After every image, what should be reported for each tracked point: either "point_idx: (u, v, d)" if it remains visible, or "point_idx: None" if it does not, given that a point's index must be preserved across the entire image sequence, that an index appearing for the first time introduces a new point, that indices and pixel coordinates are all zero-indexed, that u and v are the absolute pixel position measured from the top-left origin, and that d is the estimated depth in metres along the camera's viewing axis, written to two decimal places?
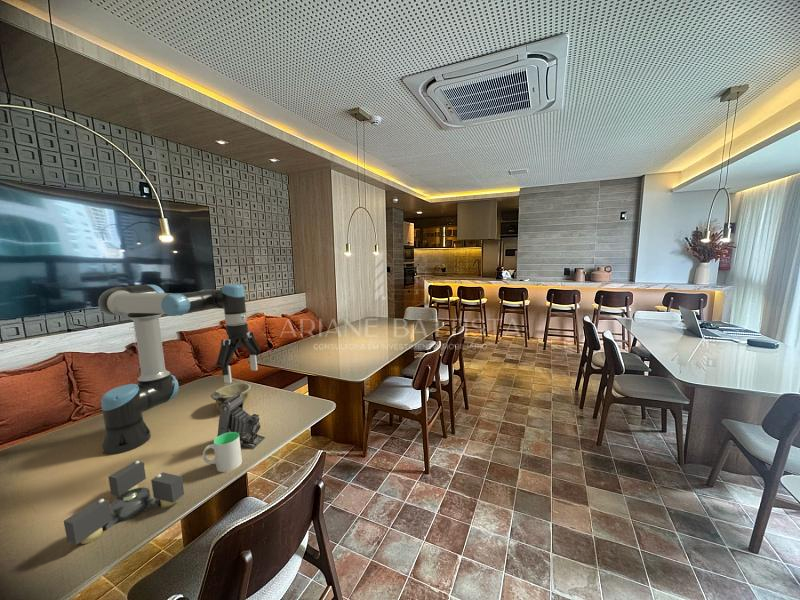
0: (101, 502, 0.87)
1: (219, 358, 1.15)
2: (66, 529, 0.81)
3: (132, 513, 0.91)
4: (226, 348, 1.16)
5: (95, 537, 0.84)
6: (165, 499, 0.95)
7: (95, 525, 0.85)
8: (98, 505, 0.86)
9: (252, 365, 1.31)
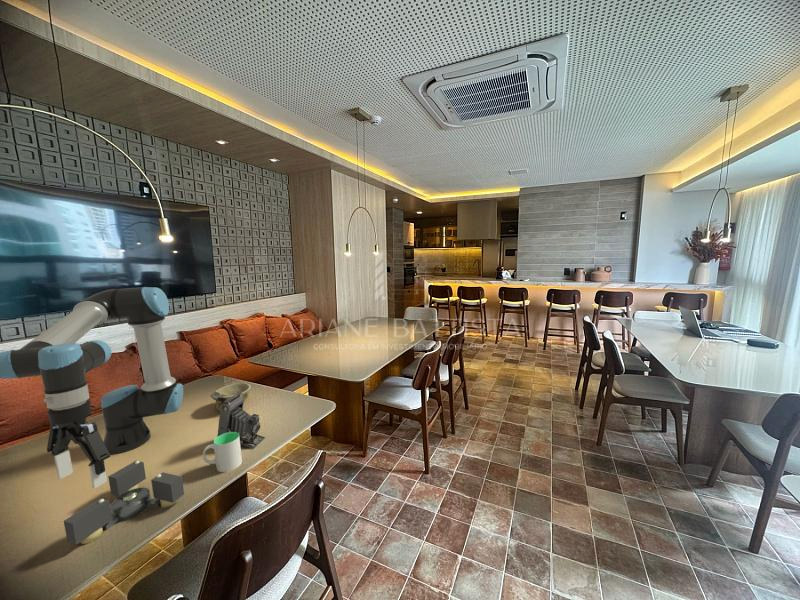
0: (101, 502, 0.87)
1: None
2: (66, 529, 0.81)
3: (132, 513, 0.91)
4: (50, 432, 0.82)
5: (95, 537, 0.84)
6: (165, 499, 0.95)
7: (95, 525, 0.85)
8: (98, 505, 0.86)
9: None
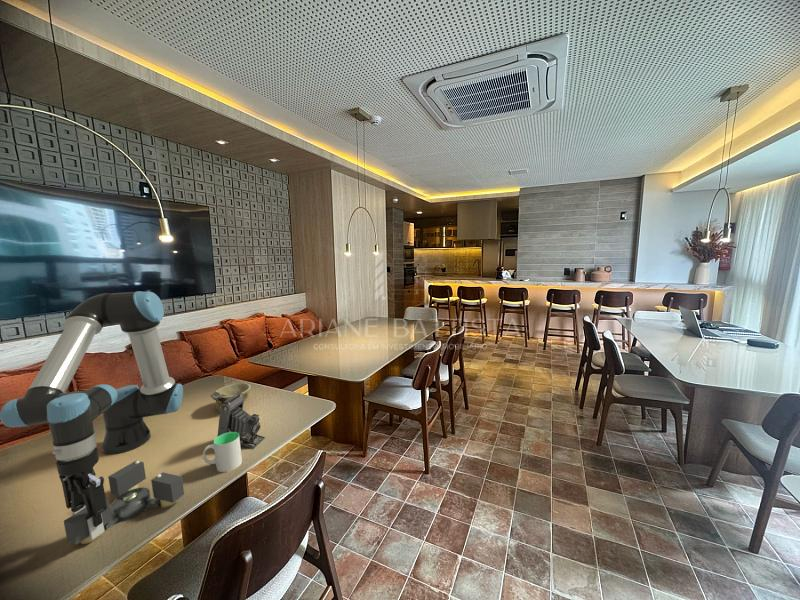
0: None
1: None
2: (66, 529, 0.81)
3: (132, 513, 0.91)
4: (63, 486, 0.84)
5: None
6: (165, 499, 0.95)
7: None
8: None
9: None
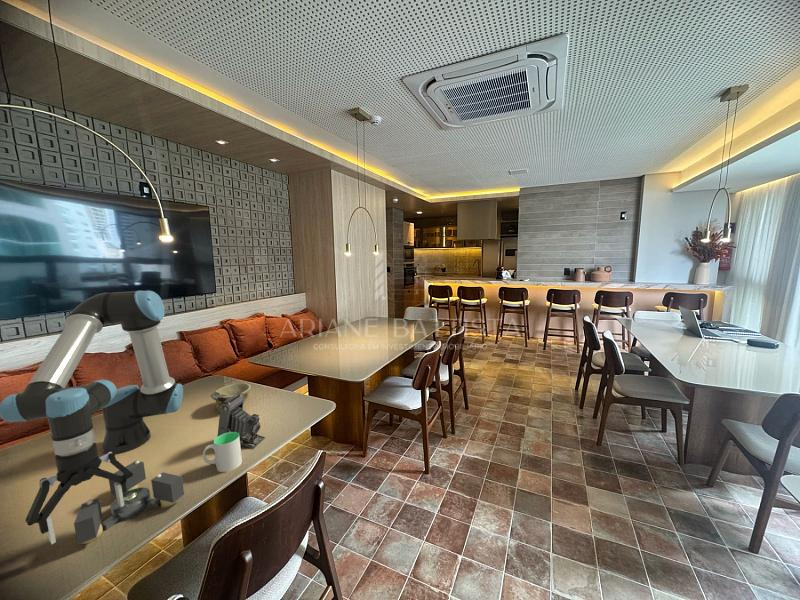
0: (92, 502, 0.87)
1: (30, 510, 0.76)
2: (78, 530, 0.81)
3: (132, 513, 0.91)
4: (41, 495, 0.76)
5: (101, 531, 0.86)
6: (165, 499, 0.95)
7: (98, 521, 0.86)
8: (93, 504, 0.86)
9: (117, 498, 0.90)
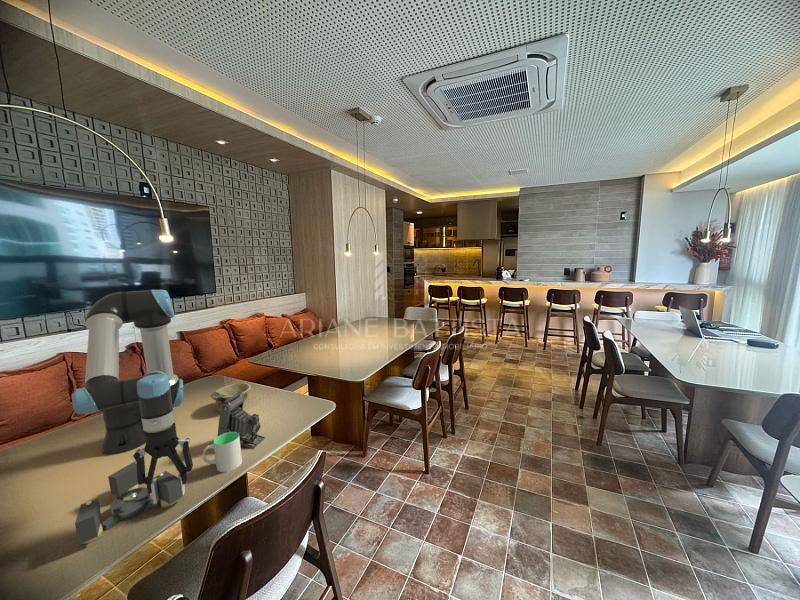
0: (92, 502, 0.87)
1: None
2: (79, 530, 0.81)
3: (132, 513, 0.91)
4: (137, 464, 0.91)
5: (102, 531, 0.86)
6: (164, 499, 0.95)
7: (98, 520, 0.86)
8: (93, 504, 0.86)
9: None
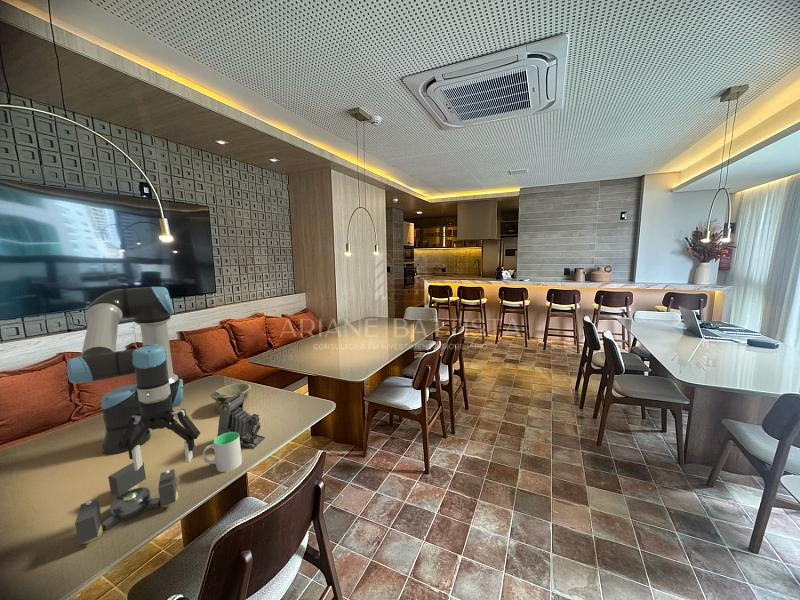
0: (92, 502, 0.87)
1: None
2: (79, 530, 0.81)
3: (132, 513, 0.91)
4: (128, 429, 0.91)
5: (102, 531, 0.86)
6: None
7: (98, 520, 0.86)
8: (93, 504, 0.86)
9: None
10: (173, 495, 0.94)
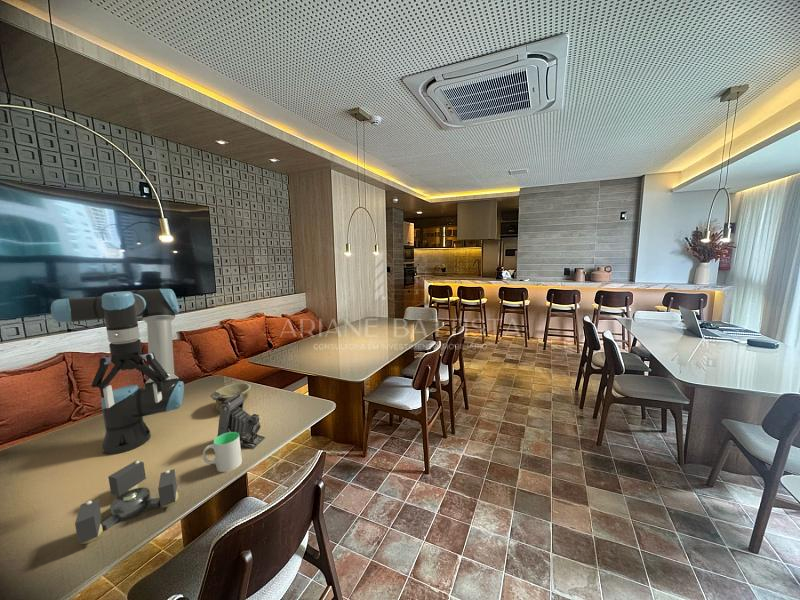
0: (92, 502, 0.87)
1: None
2: (79, 530, 0.81)
3: (132, 513, 0.91)
4: (99, 368, 0.97)
5: (102, 531, 0.86)
6: None
7: (98, 520, 0.86)
8: (93, 504, 0.86)
9: None
10: (173, 495, 0.94)
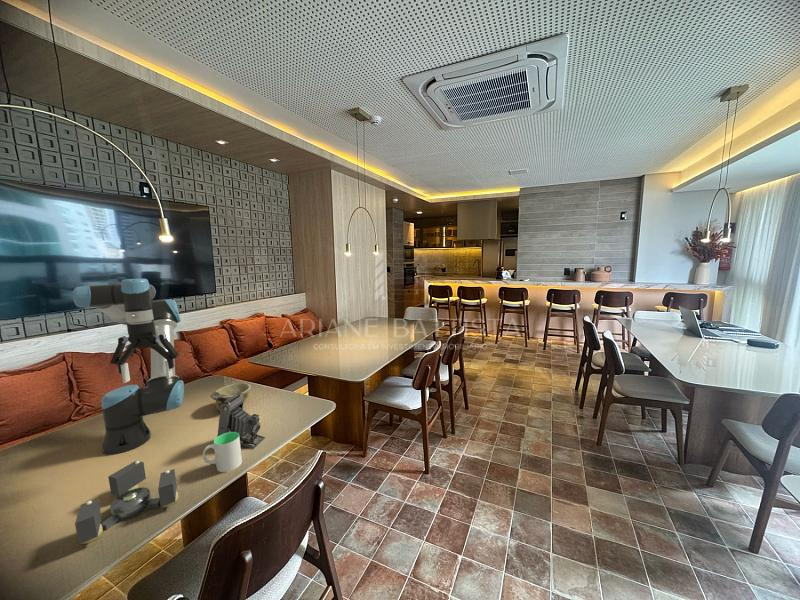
0: (92, 502, 0.87)
1: None
2: (79, 530, 0.81)
3: (132, 513, 0.91)
4: (117, 346, 1.10)
5: (102, 531, 0.86)
6: None
7: (98, 520, 0.86)
8: (93, 504, 0.86)
9: None
10: (173, 495, 0.94)
